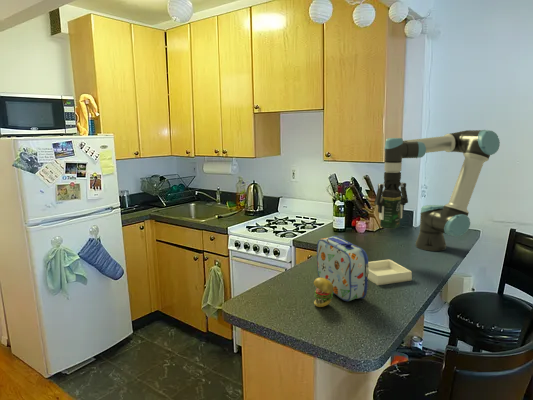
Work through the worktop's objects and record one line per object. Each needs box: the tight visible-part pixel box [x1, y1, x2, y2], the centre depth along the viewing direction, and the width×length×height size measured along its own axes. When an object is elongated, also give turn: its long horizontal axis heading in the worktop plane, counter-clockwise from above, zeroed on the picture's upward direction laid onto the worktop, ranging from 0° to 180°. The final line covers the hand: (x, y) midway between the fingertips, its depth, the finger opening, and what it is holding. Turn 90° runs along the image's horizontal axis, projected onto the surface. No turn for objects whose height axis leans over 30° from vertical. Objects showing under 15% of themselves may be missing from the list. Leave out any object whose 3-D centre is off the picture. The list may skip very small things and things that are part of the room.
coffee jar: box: [379, 189, 402, 230], centre depth 180 cm, size 10×8×19 cm
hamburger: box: [313, 277, 334, 308], centre depth 139 cm, size 8×7×12 cm
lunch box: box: [316, 235, 370, 302], centre depth 150 cm, size 28×10×22 cm, turn 22°
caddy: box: [367, 259, 413, 286], centre depth 167 cm, size 16×16×4 cm
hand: (390, 218), depth 181 cm, fingers closed on coffee jar, 9 cm apart
